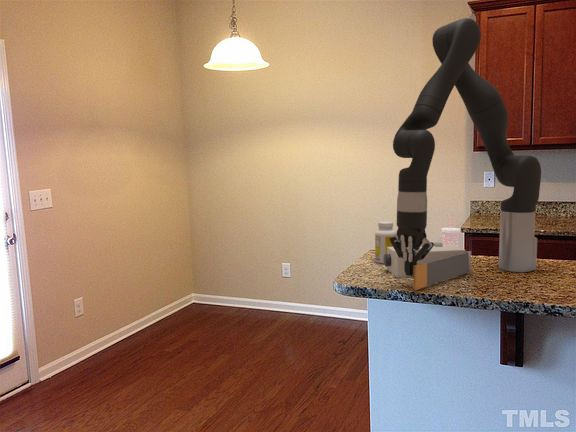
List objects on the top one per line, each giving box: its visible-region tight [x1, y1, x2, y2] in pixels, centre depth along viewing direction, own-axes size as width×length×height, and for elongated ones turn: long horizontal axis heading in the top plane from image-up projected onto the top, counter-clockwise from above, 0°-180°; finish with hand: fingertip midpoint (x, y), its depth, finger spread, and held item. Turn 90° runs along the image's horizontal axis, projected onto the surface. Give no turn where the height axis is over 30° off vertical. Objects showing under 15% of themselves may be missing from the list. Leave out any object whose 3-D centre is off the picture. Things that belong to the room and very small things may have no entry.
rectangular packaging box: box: [383, 242, 466, 278], centre depth 147 cm, size 21×9×8 cm, turn 97°
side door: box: [412, 250, 472, 291], centre depth 136 cm, size 26×1×6 cm, turn 130°
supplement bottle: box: [374, 220, 397, 265], centre depth 160 cm, size 7×7×13 cm
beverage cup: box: [440, 213, 461, 247], centre depth 168 cm, size 6×6×14 cm
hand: (410, 275), depth 131 cm, fingers closed
